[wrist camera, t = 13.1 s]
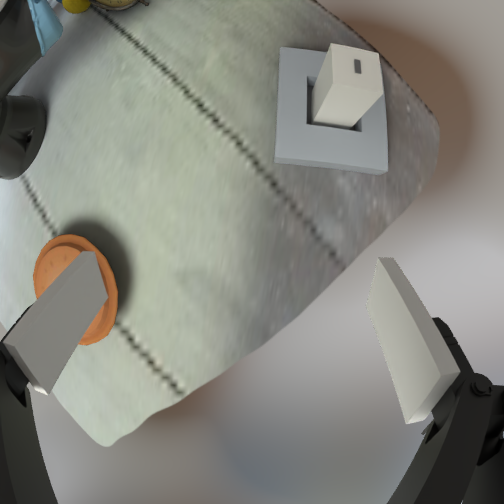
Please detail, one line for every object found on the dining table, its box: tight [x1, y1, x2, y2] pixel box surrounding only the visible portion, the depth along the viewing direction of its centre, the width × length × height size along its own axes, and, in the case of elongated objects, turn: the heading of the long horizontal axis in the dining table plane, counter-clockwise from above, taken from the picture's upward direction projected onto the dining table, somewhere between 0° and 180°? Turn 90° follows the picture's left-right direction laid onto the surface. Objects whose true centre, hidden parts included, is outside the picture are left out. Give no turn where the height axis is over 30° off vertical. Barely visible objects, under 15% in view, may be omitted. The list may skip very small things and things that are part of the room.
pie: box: [33, 234, 118, 345], centre depth 35 cm, size 16×16×5 cm
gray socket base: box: [274, 47, 388, 175], centre depth 33 cm, size 16×14×3 cm
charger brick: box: [311, 43, 383, 130], centre depth 28 cm, size 5×5×12 cm
